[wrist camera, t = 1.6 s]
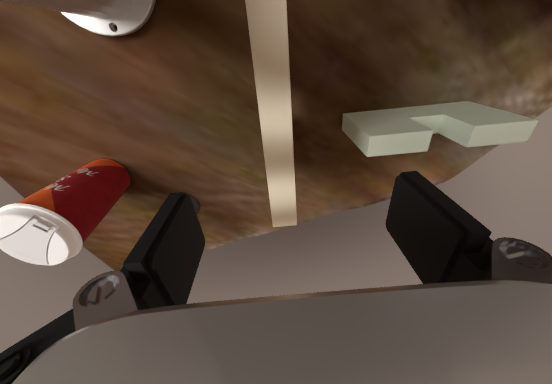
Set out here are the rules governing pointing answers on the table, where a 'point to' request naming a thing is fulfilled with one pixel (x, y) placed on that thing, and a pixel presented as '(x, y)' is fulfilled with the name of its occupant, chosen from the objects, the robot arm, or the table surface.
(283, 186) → the maple plate
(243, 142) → the table surface
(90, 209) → the coffee cup
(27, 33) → the table surface
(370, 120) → the sage board
